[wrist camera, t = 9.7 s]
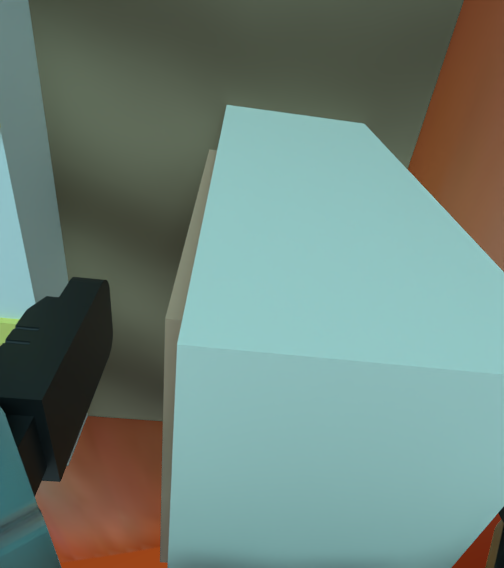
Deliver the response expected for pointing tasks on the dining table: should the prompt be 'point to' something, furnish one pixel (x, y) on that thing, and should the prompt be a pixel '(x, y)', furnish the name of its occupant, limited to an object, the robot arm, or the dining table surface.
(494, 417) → the carton
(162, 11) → the shelf board
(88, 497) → the dining table surface
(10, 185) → the rail
